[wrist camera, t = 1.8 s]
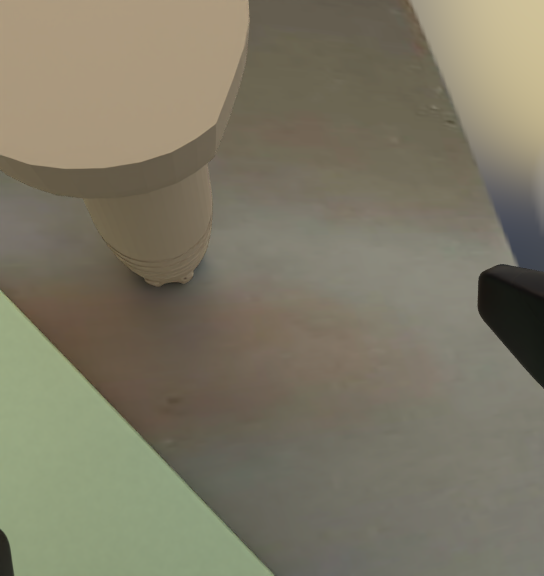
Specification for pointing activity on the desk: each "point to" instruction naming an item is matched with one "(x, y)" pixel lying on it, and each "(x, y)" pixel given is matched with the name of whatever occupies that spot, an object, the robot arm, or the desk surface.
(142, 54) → the handle
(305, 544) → the desk surface
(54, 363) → the mat
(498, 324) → the robot arm
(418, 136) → the desk surface
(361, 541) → the desk surface
